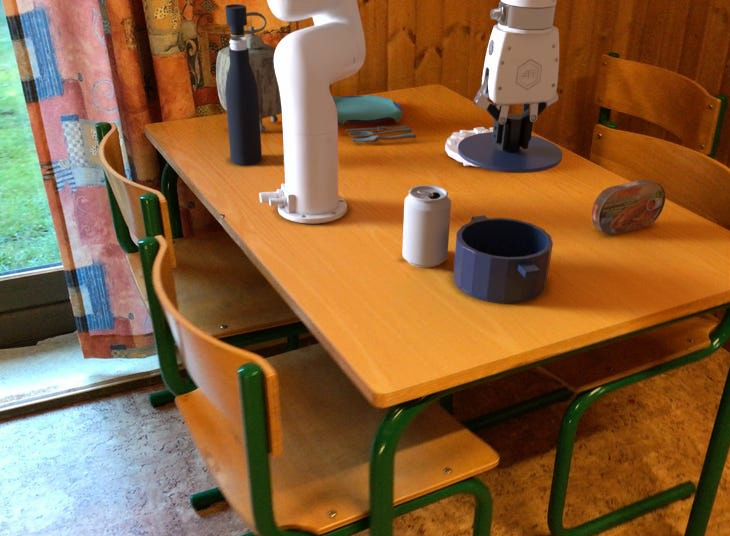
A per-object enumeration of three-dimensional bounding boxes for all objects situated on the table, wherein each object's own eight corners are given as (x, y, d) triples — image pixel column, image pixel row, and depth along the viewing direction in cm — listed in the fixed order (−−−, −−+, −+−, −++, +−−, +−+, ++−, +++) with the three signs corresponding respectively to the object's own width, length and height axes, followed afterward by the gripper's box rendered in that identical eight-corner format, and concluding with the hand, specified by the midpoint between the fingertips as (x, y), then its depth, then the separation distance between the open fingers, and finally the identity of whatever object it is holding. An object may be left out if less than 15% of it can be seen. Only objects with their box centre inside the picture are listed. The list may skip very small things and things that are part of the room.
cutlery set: (389, 101, 211) (389, 91, 209) (425, 141, 187) (425, 131, 186) (311, 105, 206) (310, 96, 205) (337, 147, 182) (337, 137, 181)
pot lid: (481, 181, 119) (486, 138, 115) (442, 143, 131) (445, 103, 127) (580, 172, 123) (587, 130, 119) (533, 135, 135) (538, 97, 131)
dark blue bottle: (225, 162, 173) (211, 7, 157) (240, 152, 178) (229, 1, 161) (252, 167, 171) (242, 11, 155) (267, 157, 176) (259, 4, 160)
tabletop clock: (278, 119, 197) (273, 5, 183) (296, 130, 191) (292, 13, 177) (220, 128, 190) (210, 11, 176) (236, 141, 184) (227, 20, 170)
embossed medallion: (427, 147, 184) (428, 134, 182) (501, 134, 192) (502, 121, 190) (480, 178, 170) (481, 164, 168) (557, 163, 178) (559, 149, 176)
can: (443, 272, 136) (448, 202, 129) (398, 267, 137) (400, 197, 130) (450, 252, 142) (455, 184, 135) (406, 247, 143) (409, 180, 136)
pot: (482, 318, 124) (487, 273, 120) (434, 258, 140) (436, 216, 136) (570, 304, 128) (578, 260, 124) (514, 247, 144) (518, 207, 140)
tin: (596, 239, 147) (604, 194, 143) (585, 232, 150) (592, 187, 145) (661, 224, 153) (671, 180, 149) (649, 217, 156) (658, 174, 151)
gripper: (482, 25, 110) (469, 160, 121) (592, 21, 115) (571, 151, 125) (461, 12, 116) (450, 142, 127) (566, 8, 121) (548, 134, 131)
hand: (510, 145), depth 126 cm, fingers closed on pot lid, 2 cm apart
